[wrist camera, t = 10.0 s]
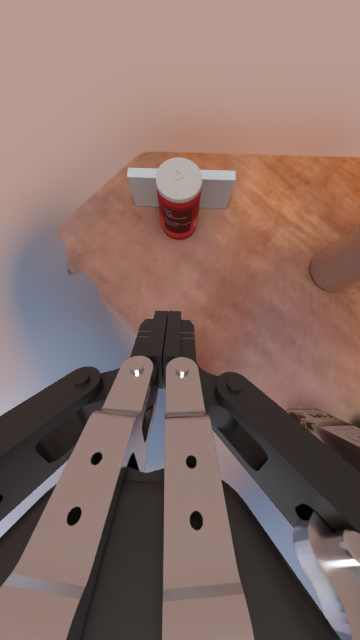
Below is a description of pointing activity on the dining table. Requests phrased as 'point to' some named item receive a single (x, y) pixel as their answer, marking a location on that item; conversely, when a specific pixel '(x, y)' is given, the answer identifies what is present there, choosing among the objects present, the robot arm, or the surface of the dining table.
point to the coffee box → (332, 433)
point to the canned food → (179, 196)
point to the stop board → (212, 193)
